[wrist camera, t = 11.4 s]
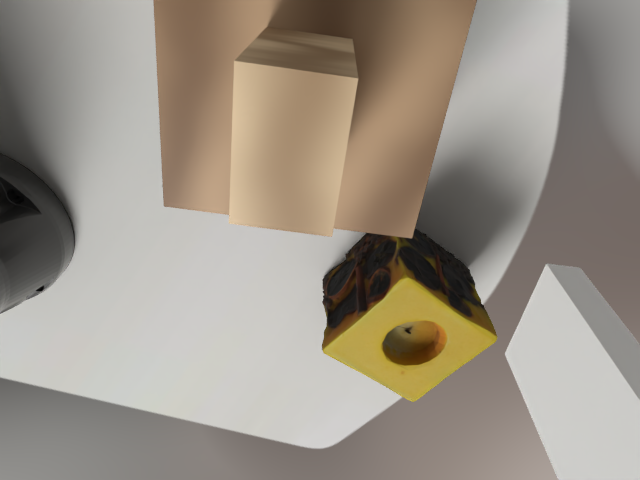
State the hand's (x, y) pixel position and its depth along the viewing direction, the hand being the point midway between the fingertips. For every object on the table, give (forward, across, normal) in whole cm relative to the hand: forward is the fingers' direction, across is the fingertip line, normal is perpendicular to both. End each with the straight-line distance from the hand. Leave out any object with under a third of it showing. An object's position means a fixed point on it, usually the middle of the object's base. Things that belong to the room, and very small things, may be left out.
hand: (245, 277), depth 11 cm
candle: (+29, +11, -19) cm, 36 cm away
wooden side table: (+28, +1, 0) cm, 28 cm away
